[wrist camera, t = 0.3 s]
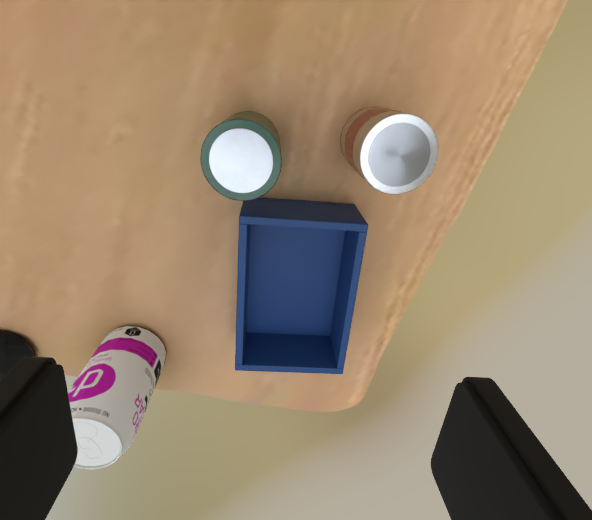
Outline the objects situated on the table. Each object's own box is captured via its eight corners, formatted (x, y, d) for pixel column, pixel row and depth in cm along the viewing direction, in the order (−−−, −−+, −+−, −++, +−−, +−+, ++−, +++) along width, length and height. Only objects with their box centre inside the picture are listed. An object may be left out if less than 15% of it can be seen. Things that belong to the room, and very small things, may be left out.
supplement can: (92, 331, 50) (23, 424, 36) (153, 316, 49) (106, 405, 35) (119, 378, 53) (65, 480, 39) (176, 365, 52) (142, 463, 39)
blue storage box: (244, 196, 43) (239, 216, 37) (354, 204, 44) (368, 224, 38) (240, 333, 51) (235, 370, 44) (334, 337, 52) (342, 374, 45)
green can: (218, 108, 39) (199, 115, 30) (282, 114, 40) (284, 122, 30) (218, 172, 42) (200, 198, 32) (278, 177, 43) (278, 203, 33)
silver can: (344, 104, 40) (366, 109, 30) (406, 109, 40) (447, 116, 31) (336, 168, 42) (354, 192, 33) (394, 173, 43) (429, 197, 33)
